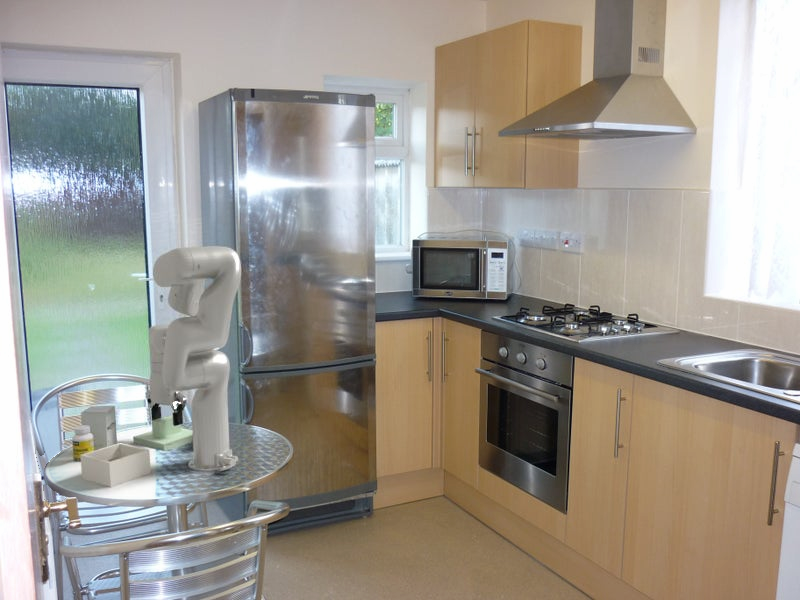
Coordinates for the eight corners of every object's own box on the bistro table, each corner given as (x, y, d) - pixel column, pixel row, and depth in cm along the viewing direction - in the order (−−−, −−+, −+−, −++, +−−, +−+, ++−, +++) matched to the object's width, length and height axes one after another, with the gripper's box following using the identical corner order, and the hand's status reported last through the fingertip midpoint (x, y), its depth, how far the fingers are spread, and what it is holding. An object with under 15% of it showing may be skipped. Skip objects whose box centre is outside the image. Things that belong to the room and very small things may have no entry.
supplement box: (108, 454, 217) (105, 411, 215) (82, 455, 217) (79, 412, 215) (118, 446, 224) (115, 405, 222) (93, 447, 224) (90, 405, 223)
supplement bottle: (70, 464, 209) (67, 429, 208) (79, 457, 214) (76, 424, 213) (89, 464, 209) (87, 429, 208) (98, 457, 214) (95, 424, 213)
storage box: (150, 475, 199) (149, 449, 198) (111, 490, 189) (109, 463, 188) (122, 467, 206) (120, 442, 205) (82, 481, 196) (80, 455, 195)
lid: (200, 439, 230) (199, 415, 229) (164, 451, 219) (162, 427, 218) (170, 432, 238) (169, 409, 237) (133, 444, 226) (132, 420, 225)
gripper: (193, 366, 224) (196, 423, 225) (155, 361, 233) (158, 416, 235) (173, 371, 217) (176, 429, 219) (134, 366, 227) (138, 422, 229)
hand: (167, 422), depth 227 cm, fingers open, 9 cm apart
